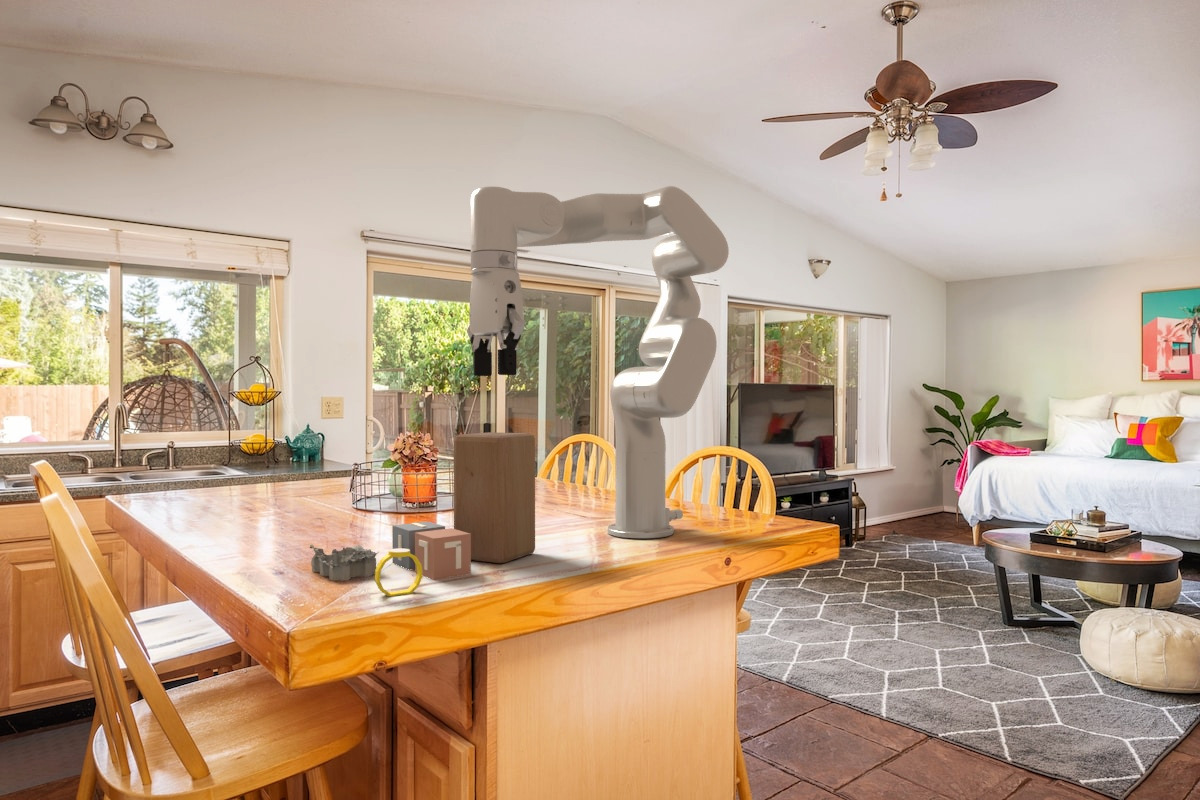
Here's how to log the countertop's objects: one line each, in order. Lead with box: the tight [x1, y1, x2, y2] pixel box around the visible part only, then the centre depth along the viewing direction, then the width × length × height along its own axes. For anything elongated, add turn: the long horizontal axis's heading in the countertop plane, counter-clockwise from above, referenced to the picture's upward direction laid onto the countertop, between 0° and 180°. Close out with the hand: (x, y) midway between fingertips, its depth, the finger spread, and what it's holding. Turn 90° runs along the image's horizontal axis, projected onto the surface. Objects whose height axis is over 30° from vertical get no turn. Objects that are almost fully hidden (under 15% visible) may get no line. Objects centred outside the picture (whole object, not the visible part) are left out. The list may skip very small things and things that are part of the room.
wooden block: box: [453, 431, 536, 564], centre depth 122 cm, size 10×10×20 cm
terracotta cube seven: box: [414, 527, 472, 581], centre depth 111 cm, size 6×6×6 cm
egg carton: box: [309, 544, 379, 581], centre depth 112 cm, size 11×8×4 cm
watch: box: [374, 548, 423, 597], centre depth 99 cm, size 6×3×6 cm, turn 121°
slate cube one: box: [391, 521, 446, 571], centre depth 117 cm, size 6×6×6 cm
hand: (494, 374), depth 122 cm, fingers open, 6 cm apart
